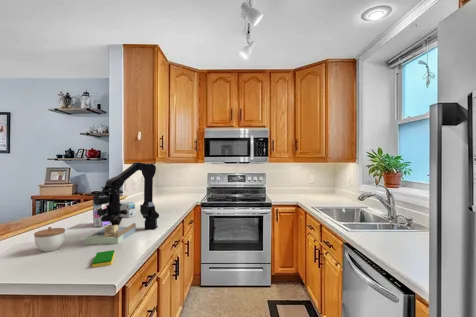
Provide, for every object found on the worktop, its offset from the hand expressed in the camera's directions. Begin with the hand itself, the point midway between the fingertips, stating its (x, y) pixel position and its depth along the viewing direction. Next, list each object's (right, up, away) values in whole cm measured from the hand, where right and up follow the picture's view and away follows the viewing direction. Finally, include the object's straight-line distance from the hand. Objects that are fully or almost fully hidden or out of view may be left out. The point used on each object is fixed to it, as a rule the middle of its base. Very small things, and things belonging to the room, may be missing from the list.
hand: (115, 231), depth 155 cm
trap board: (-3, -4, +2) cm, 6 cm away
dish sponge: (+10, -5, -34) cm, 35 cm away
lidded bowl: (-26, -6, -15) cm, 30 cm away
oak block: (0, -1, -5) cm, 5 cm away
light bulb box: (-17, -5, +61) cm, 64 cm away
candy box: (-24, -5, +36) cm, 44 cm away
